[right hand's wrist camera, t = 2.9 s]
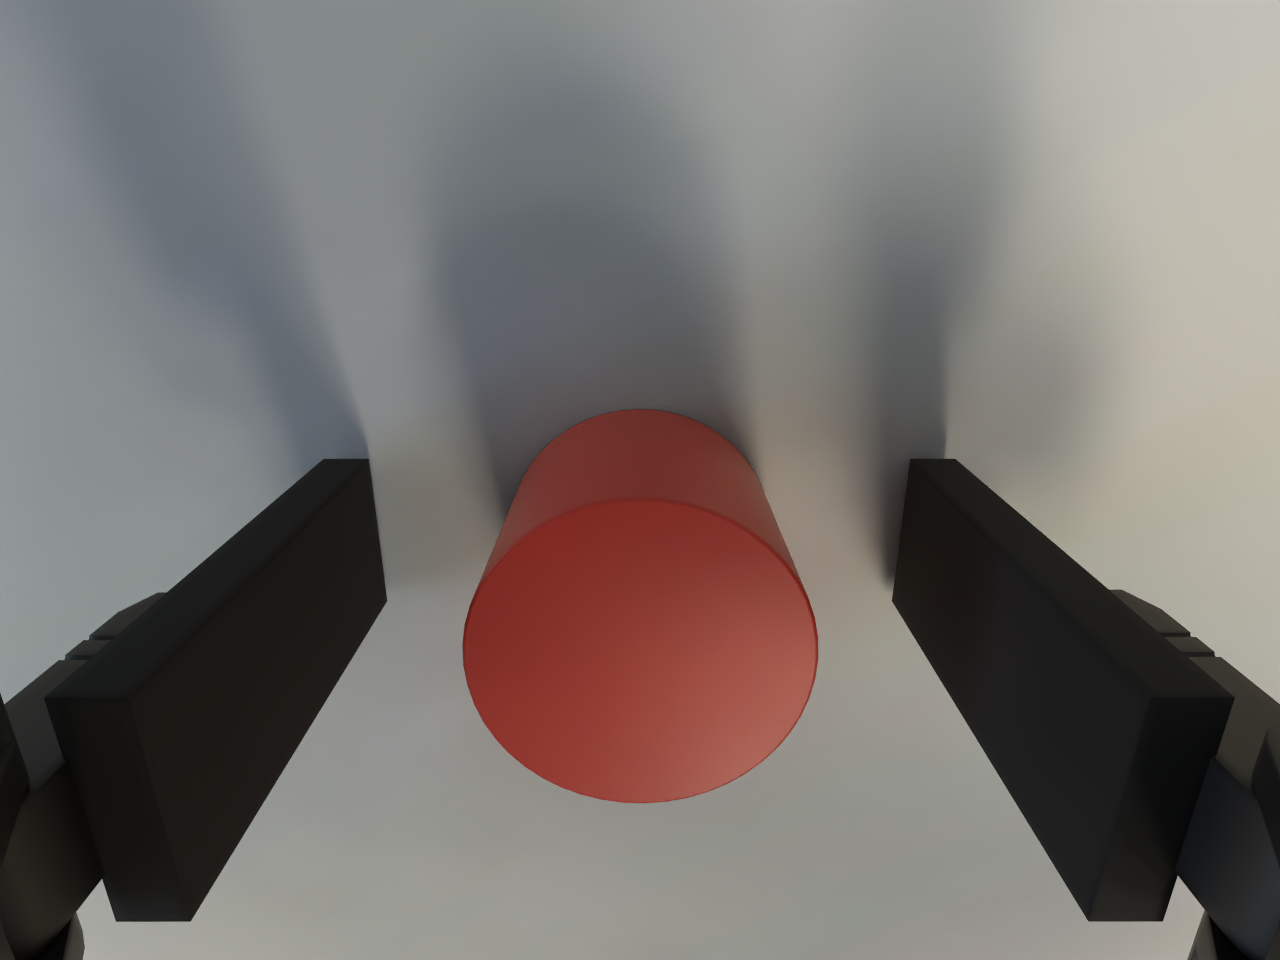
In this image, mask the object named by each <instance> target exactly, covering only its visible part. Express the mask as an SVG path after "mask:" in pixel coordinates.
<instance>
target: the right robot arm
mask: <svg viewBox="0 0 1280 960" xmlns="http://www.w3.org/2000/svg"><path fill="white" fill-rule="evenodd" d="M386 602H387V596H386V589H385V581H384V573H383V566H382V558H381V550H380V543H379V535H378V527H377V520H376V512H375V504H374V497H373V489H372V481H371V474H370V466H369V459H323V460H322V461H321V462H320V463H318V464H317V465H316V466H315V467H314V468H313V469H311V470H310V471H309V472H308V473H307V474H306V475H304V476H303V477H302V478H301V479H300V480H299V481H297V482H296V483H295V484H294V485H293V486H291V487H290V488H289V489H288V490H287V491H286V492H284V493H283V494H282V495H281V496H280V497H279V498H277V499H276V500H275V501H274V502H273V503H272V504H270V505H269V506H268V507H267V508H266V509H264V510H263V511H262V512H261V513H260V514H259V515H257V516H256V517H255V518H254V519H253V520H252V521H250V522H249V523H248V524H247V525H246V526H245V527H243V528H242V529H241V530H240V531H239V532H237V533H236V534H235V535H234V536H233V537H232V538H230V539H229V540H228V541H227V542H226V543H225V544H223V545H222V546H221V547H220V548H219V549H218V550H216V551H215V552H214V553H213V554H212V555H210V556H209V557H208V558H207V559H206V560H205V561H203V562H202V563H201V564H200V565H199V566H198V567H196V568H195V569H194V570H193V571H192V572H191V573H189V574H188V575H187V576H186V577H185V578H183V579H182V580H181V581H180V582H179V583H178V584H176V585H175V586H174V587H173V588H172V589H171V590H169V591H168V592H167V593H156V594H154V595H152V596H150V597H148V598H146V599H144V600H142V601H140V602H138V603H136V604H134V605H132V606H130V607H128V608H126V609H124V610H122V611H120V612H118V613H117V614H115V615H114V616H113V617H112V618H111V619H109V620H108V621H107V622H106V623H104V624H103V625H102V626H101V627H99V628H98V629H97V630H96V631H94V632H93V633H92V634H91V635H90V636H89V640H83V641H82V642H81V643H80V644H78V645H77V646H76V647H75V648H73V649H72V650H71V651H70V652H69V653H67V654H66V655H65V660H59V661H57V662H56V663H55V664H54V665H52V666H51V667H50V668H49V669H48V670H46V671H45V672H44V673H43V674H41V675H40V676H39V677H38V678H36V679H35V680H34V681H33V682H31V683H30V684H29V685H28V686H27V687H25V688H24V689H23V690H22V691H20V692H19V693H18V694H17V695H15V696H14V697H13V698H12V699H11V700H9V701H8V702H7V703H6V704H4V703H3V700H2V697H1V694H0V960H83V954H84V948H85V947H84V939H83V931H82V928H81V925H80V922H79V919H78V916H77V913H76V911H77V910H78V909H79V907H80V906H81V905H82V903H83V902H84V901H85V900H86V898H87V897H88V896H89V894H90V893H91V892H92V891H93V889H94V888H95V887H96V886H97V884H98V883H99V882H100V880H101V879H103V882H104V886H105V889H106V892H107V895H108V898H109V901H110V904H111V907H112V910H113V913H114V916H115V919H116V922H151V921H191V920H192V918H193V917H194V915H195V913H196V912H197V910H198V908H199V907H200V905H201V904H202V902H203V900H204V899H205V897H206V895H207V894H208V892H209V890H210V889H211V887H212V886H213V884H214V882H215V881H216V879H217V877H218V876H219V874H220V873H221V871H222V869H223V868H224V866H225V864H226V863H227V861H228V860H229V858H230V856H231V855H232V853H233V851H234V850H235V848H236V846H237V845H238V843H239V842H240V840H241V838H242V837H243V835H244V833H245V832H246V830H247V829H248V827H249V825H250V824H251V822H252V820H253V819H254V817H255V816H256V814H257V812H258V811H259V809H260V807H261V806H262V804H263V802H264V801H265V799H266V798H267V796H268V794H269V793H270V791H271V789H272V788H273V786H274V785H275V783H276V781H277V780H278V778H279V776H280V775H281V773H282V771H283V770H284V768H285V767H286V765H287V763H288V762H289V760H290V758H291V757H292V755H293V754H294V752H295V750H296V749H297V747H298V745H299V744H300V742H301V741H302V739H303V737H304V736H305V734H306V732H307V731H308V729H309V727H310V726H311V724H312V723H313V721H314V719H315V718H316V716H317V714H318V713H319V711H320V710H321V708H322V706H323V705H324V703H325V701H326V700H327V698H328V697H329V695H330V693H331V692H332V690H333V688H334V687H335V685H336V683H337V682H338V680H339V679H340V677H341V675H342V674H343V672H344V670H345V669H346V667H347V666H348V664H349V662H350V661H351V659H352V657H353V656H354V654H355V653H356V651H357V649H358V648H359V646H360V644H361V643H362V641H363V639H364V638H365V636H366V635H367V633H368V631H369V630H370V628H371V626H372V625H373V623H374V622H375V620H376V618H377V617H378V615H379V613H380V612H381V610H382V608H383V607H384V605H385V604H386ZM892 602H893V603H894V605H895V607H896V608H897V610H898V612H899V613H900V615H901V616H902V618H903V620H904V621H905V623H906V625H907V626H908V628H909V630H910V631H911V633H912V634H913V636H914V638H915V639H916V641H917V643H918V644H919V646H920V647H921V649H922V651H923V652H924V654H925V656H926V657H927V659H928V661H929V662H930V664H931V665H932V667H933V669H934V670H935V672H936V674H937V675H938V677H939V678H940V680H941V682H942V683H943V685H944V687H945V688H946V690H947V691H948V693H949V695H950V696H951V698H952V700H953V701H954V703H955V705H956V706H957V708H958V709H959V711H960V713H961V714H962V716H963V718H964V719H965V721H966V722H967V724H968V726H969V727H970V729H971V731H972V732H973V734H974V736H975V737H976V739H977V740H978V742H979V744H980V745H981V747H982V749H983V750H984V752H985V753H986V755H987V757H988V758H989V760H990V762H991V763H992V765H993V766H994V768H995V770H996V771H997V773H998V775H999V776H1000V778H1001V780H1002V781H1003V783H1004V784H1005V786H1006V788H1007V789H1008V791H1009V793H1010V794H1011V796H1012V797H1013V799H1014V801H1015V802H1016V804H1017V806H1018V807H1019V809H1020V811H1021V812H1022V814H1023V815H1024V817H1025V819H1026V820H1027V822H1028V824H1029V825H1030V827H1031V828H1032V830H1033V832H1034V833H1035V835H1036V837H1037V838H1038V840H1039V841H1040V843H1041V845H1042V846H1043V848H1044V850H1045V851H1046V853H1047V855H1048V856H1049V858H1050V859H1051V861H1052V863H1053V864H1054V866H1055V868H1056V869H1057V871H1058V872H1059V874H1060V876H1061V877H1062V879H1063V881H1064V882H1065V884H1066V886H1067V887H1068V889H1069V890H1070V892H1071V894H1072V895H1073V897H1074V899H1075V900H1076V902H1077V903H1078V905H1079V907H1080V908H1081V910H1082V912H1083V913H1084V915H1085V916H1086V918H1087V920H1088V921H1163V919H1164V916H1165V913H1166V910H1167V907H1168V904H1169V901H1170V897H1171V894H1172V891H1173V888H1174V885H1175V882H1176V879H1177V876H1179V877H1180V879H1181V880H1182V881H1183V882H1184V884H1185V885H1186V886H1187V887H1188V889H1189V890H1190V891H1191V893H1192V894H1193V895H1194V896H1195V898H1196V899H1197V900H1198V901H1199V903H1200V904H1201V905H1202V907H1203V908H1204V909H1205V910H1204V913H1203V916H1202V919H1201V922H1200V925H1199V928H1198V931H1197V933H1196V936H1195V939H1194V942H1193V945H1192V948H1191V951H1190V954H1189V957H1188V959H1187V960H1280V704H1279V703H1277V702H1276V701H1275V700H1274V699H1272V698H1271V697H1270V696H1269V695H1267V694H1266V693H1265V692H1264V691H1262V690H1261V689H1260V688H1259V687H1257V686H1256V685H1255V684H1254V683H1253V682H1251V681H1250V680H1249V679H1248V678H1246V677H1245V676H1244V675H1243V674H1241V673H1240V672H1239V671H1238V670H1236V669H1235V668H1234V667H1233V666H1231V665H1230V664H1229V663H1228V662H1226V661H1225V660H1224V659H1223V658H1221V657H1215V655H1214V651H1213V650H1211V649H1210V648H1209V647H1208V646H1206V645H1205V644H1204V643H1203V642H1201V641H1200V640H1199V639H1198V638H1196V637H1191V636H1190V632H1189V631H1188V630H1187V629H1185V628H1184V627H1183V626H1182V625H1180V624H1179V623H1178V622H1177V621H1175V620H1174V619H1173V618H1172V617H1170V616H1169V615H1168V614H1167V613H1165V612H1164V611H1163V610H1162V609H1160V608H1158V607H1156V606H1154V605H1152V604H1150V603H1147V602H1145V601H1143V600H1141V599H1139V598H1137V597H1135V596H1133V595H1131V594H1129V593H1127V592H1125V591H1123V590H1108V589H1107V588H1106V587H1105V586H1104V585H1103V584H1101V583H1100V582H1099V581H1098V580H1097V579H1096V578H1094V577H1093V576H1092V575H1091V574H1090V573H1088V572H1087V571H1086V570H1085V569H1084V568H1083V567H1081V566H1080V565H1079V564H1078V563H1077V562H1076V561H1074V560H1073V559H1072V558H1071V557H1070V556H1069V555H1067V554H1066V553H1065V552H1064V551H1063V550H1061V549H1060V548H1059V547H1058V546H1057V545H1056V544H1054V543H1053V542H1052V541H1051V540H1050V539H1049V538H1047V537H1046V536H1045V535H1044V534H1043V533H1042V532H1040V531H1039V530H1038V529H1037V528H1036V527H1034V526H1033V525H1032V524H1031V523H1030V522H1029V521H1027V520H1026V519H1025V518H1024V517H1023V516H1022V515H1020V514H1019V513H1018V512H1017V511H1016V510H1015V509H1013V508H1012V507H1011V506H1010V505H1009V504H1007V503H1006V502H1005V501H1004V500H1003V499H1002V498H1000V497H999V496H998V495H997V494H996V493H995V492H993V491H992V490H991V489H990V488H989V487H988V486H986V485H985V484H984V483H983V482H982V481H980V480H979V479H978V478H977V477H976V476H975V475H973V474H972V473H971V472H970V471H969V470H968V469H966V468H965V467H964V466H963V465H962V464H961V463H959V462H958V461H957V460H956V459H910V466H909V474H908V482H907V489H906V497H905V505H904V512H903V520H902V528H901V535H900V543H899V551H898V558H897V566H896V574H895V582H894V589H893V597H892Z"/></svg>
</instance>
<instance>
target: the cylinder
mask: <svg viewBox="0 0 1280 960" xmlns="http://www.w3.org/2000/svg"><path fill="white" fill-rule="evenodd" d="M817 663H818V635H817V629H816V623H815V617H814V614H813V611H812V608H811V605H810V602H809V599H808V596H807V594H806V592H805V589H804V587H803V584H802V582H801V580H800V577H799V575H798V572H797V570H796V568H795V565H794V563H793V560H792V558H791V556H790V553H789V551H788V549H787V546H786V544H785V541H784V539H783V537H782V534H781V532H780V529H779V527H778V525H777V522H776V520H775V517H774V515H773V513H772V510H771V508H770V505H769V503H768V501H767V498H766V496H765V494H764V491H763V489H762V486H761V484H760V482H759V480H758V478H757V476H756V474H755V472H754V471H753V469H752V468H751V466H750V465H749V463H748V462H747V460H746V459H745V458H744V457H743V455H742V454H741V453H740V452H739V451H738V450H737V449H736V448H735V447H734V446H733V445H732V444H731V443H730V442H729V441H727V440H726V439H725V438H724V437H722V436H721V435H720V434H718V433H717V432H715V431H714V430H712V429H710V428H709V427H707V426H706V425H703V424H701V423H699V422H697V421H695V420H692V419H690V418H687V417H684V416H681V415H677V414H674V413H669V412H663V411H658V410H641V409H635V410H623V411H616V412H612V413H607V414H602V415H599V416H596V417H594V418H591V419H588V420H585V421H583V422H581V423H579V424H577V425H575V426H573V427H571V428H570V429H568V430H567V431H565V432H564V433H562V434H561V435H559V436H558V437H556V438H555V439H554V440H553V441H552V442H551V443H550V444H548V445H547V446H546V447H545V448H544V449H543V450H542V451H541V452H540V454H539V455H538V456H537V457H536V458H535V460H534V461H533V462H532V463H531V465H530V467H529V468H528V470H527V472H526V473H525V475H524V476H523V479H522V481H521V483H520V485H519V488H518V490H517V492H516V495H515V497H514V500H513V502H512V504H511V507H510V509H509V512H508V514H507V517H506V519H505V522H504V524H503V526H502V529H501V531H500V534H499V536H498V539H497V541H496V543H495V546H494V548H493V551H492V553H491V556H490V558H489V560H488V563H487V565H486V568H485V570H484V573H483V575H482V577H481V580H480V582H479V585H478V587H477V590H476V592H475V594H474V597H473V599H472V602H471V604H470V607H469V611H468V615H467V618H466V622H465V627H464V636H463V666H464V671H465V676H466V681H467V685H468V688H469V691H470V694H471V697H472V699H473V702H474V705H475V707H476V709H477V711H478V712H479V714H480V716H481V718H482V720H483V722H484V723H485V725H486V726H487V728H488V729H489V730H490V732H491V733H492V735H493V736H494V737H495V739H496V740H497V741H498V742H499V743H500V744H501V745H502V746H503V747H504V748H505V749H506V751H507V752H508V753H509V754H510V755H512V756H513V757H514V758H515V759H516V760H518V761H519V762H520V763H521V764H522V765H524V766H525V767H526V768H528V769H529V770H531V771H533V772H534V773H536V774H537V775H539V776H540V777H542V778H544V779H546V780H548V781H550V782H552V783H554V784H556V785H558V786H560V787H562V788H565V789H568V790H570V791H573V792H576V793H578V794H581V795H585V796H589V797H593V798H598V799H602V800H609V801H616V802H625V803H653V802H666V801H672V800H678V799H683V798H688V797H692V796H695V795H698V794H702V793H705V792H708V791H711V790H713V789H716V788H718V787H720V786H723V785H725V784H727V783H729V782H731V781H733V780H735V779H737V778H738V777H740V776H742V775H744V774H746V773H747V772H748V771H750V770H751V769H753V768H754V767H755V766H757V765H758V764H760V763H761V762H762V761H763V760H764V759H766V758H767V757H768V756H769V755H770V754H771V753H772V752H773V751H774V750H775V749H777V747H778V746H779V745H780V744H781V743H782V742H783V740H784V739H785V738H786V737H787V736H788V735H789V733H790V732H791V730H792V729H793V727H794V726H795V724H796V723H797V721H798V720H799V718H800V716H801V715H802V712H803V710H804V708H805V706H806V704H807V702H808V699H809V697H810V694H811V690H812V687H813V684H814V680H815V677H816V670H817Z"/></svg>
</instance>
